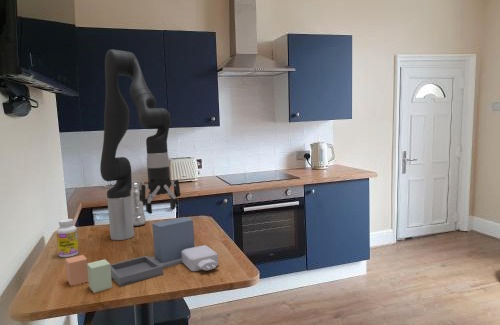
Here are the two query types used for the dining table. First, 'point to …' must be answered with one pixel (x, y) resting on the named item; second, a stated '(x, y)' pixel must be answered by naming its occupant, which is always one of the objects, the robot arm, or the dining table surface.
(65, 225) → the supplement bottle
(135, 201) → the plastic bottle
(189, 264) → the charger
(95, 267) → the sage block
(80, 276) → the terracotta block
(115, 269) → the tray
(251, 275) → the dining table surface
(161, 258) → the block
